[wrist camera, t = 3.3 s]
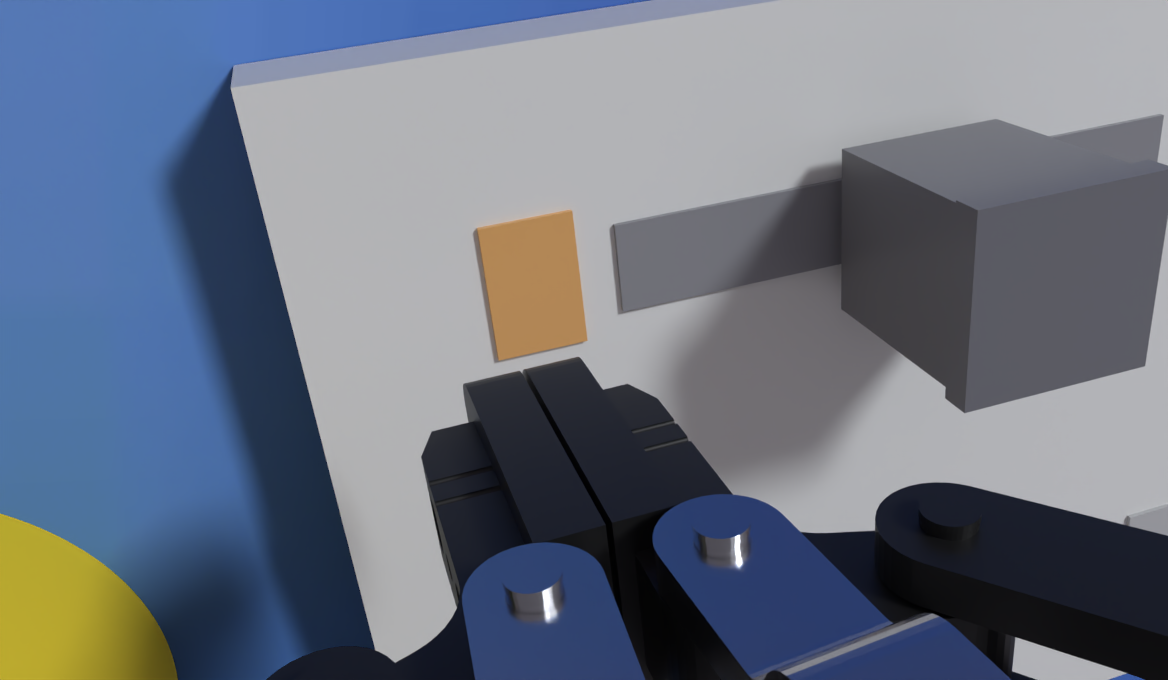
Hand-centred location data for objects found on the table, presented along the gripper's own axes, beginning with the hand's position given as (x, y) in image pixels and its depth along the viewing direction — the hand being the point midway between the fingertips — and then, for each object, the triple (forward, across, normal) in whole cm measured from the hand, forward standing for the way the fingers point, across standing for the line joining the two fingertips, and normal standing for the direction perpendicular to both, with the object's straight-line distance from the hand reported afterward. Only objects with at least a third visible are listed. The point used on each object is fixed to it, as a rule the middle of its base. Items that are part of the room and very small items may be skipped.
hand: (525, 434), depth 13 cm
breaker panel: (+7, -8, +5) cm, 11 cm away
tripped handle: (+4, -8, 0) cm, 9 cm away
